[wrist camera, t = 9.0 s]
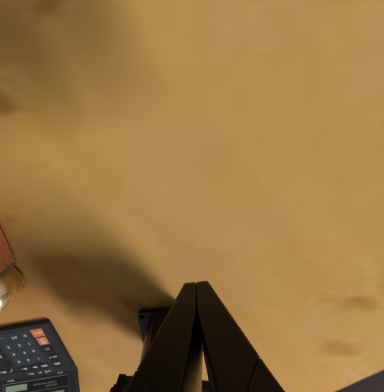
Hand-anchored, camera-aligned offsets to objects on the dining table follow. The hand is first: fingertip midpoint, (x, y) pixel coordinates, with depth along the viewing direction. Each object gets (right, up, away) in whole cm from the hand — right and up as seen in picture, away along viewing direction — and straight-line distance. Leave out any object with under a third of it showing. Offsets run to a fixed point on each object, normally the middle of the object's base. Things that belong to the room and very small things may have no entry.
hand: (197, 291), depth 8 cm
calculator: (-19, -16, +19) cm, 31 cm away
